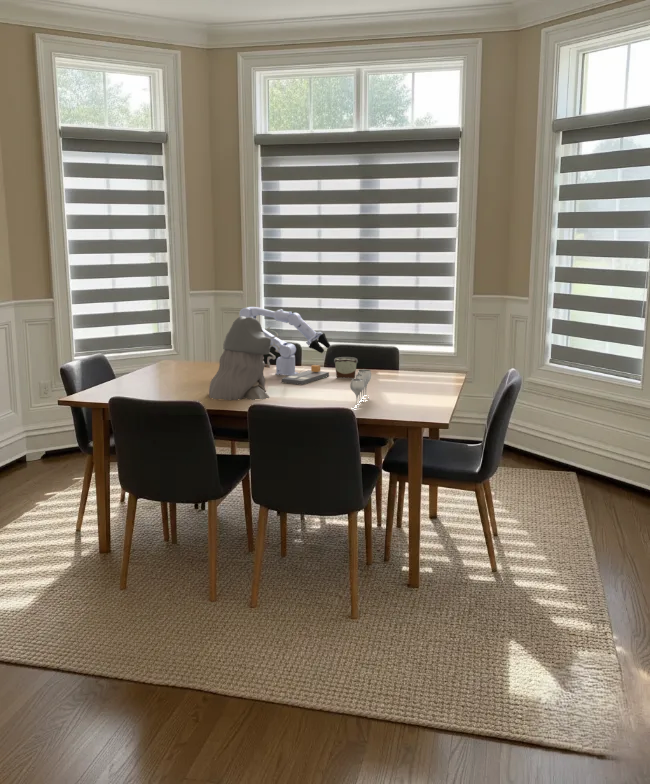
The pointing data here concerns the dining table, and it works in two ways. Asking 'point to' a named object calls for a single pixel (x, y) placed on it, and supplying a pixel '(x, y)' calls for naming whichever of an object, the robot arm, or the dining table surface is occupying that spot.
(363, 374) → the goblet set
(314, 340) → the robot arm
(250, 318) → the bust
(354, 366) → the food container
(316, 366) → the fader
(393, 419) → the dining table surface
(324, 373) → the console
